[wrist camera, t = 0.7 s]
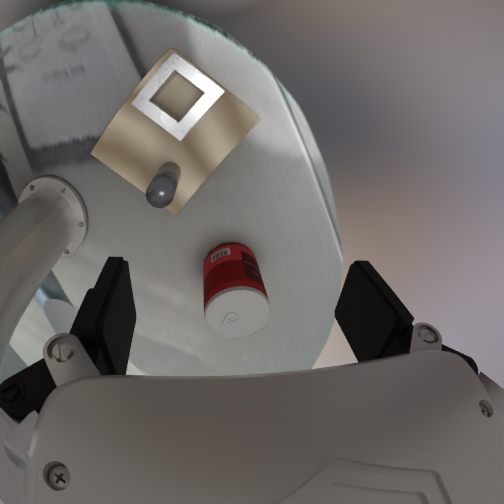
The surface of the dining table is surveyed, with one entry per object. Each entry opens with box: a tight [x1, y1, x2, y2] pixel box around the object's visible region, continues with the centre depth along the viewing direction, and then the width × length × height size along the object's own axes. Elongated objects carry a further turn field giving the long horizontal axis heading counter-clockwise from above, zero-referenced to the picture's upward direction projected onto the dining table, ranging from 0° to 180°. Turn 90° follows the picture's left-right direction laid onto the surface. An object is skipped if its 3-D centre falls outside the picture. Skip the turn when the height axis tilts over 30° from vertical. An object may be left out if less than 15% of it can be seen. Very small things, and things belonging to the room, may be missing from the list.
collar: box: [131, 53, 225, 141], centre depth 27 cm, size 7×7×4 cm
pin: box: [146, 162, 181, 208], centre depth 29 cm, size 3×3×8 cm
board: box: [90, 48, 260, 215], centre depth 31 cm, size 16×14×1 cm
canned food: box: [204, 243, 270, 338], centre depth 38 cm, size 8×8×11 cm
